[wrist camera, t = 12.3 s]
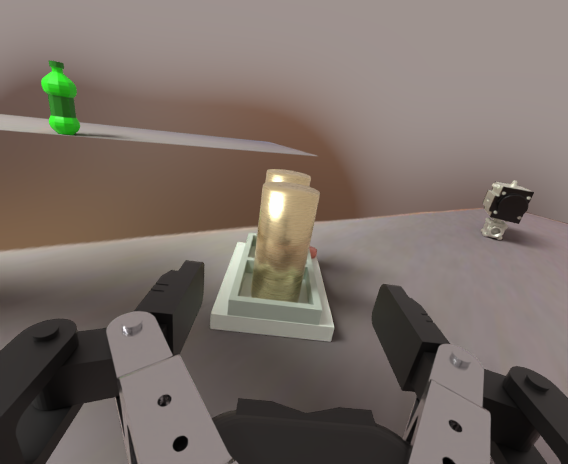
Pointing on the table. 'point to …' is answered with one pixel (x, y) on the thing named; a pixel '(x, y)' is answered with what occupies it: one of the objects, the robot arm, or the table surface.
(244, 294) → the pale green divided tray
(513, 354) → the table surface
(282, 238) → the billet
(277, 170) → the seated billet
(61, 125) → the plastic bottle
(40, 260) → the table surface
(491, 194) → the pneumatic valve
